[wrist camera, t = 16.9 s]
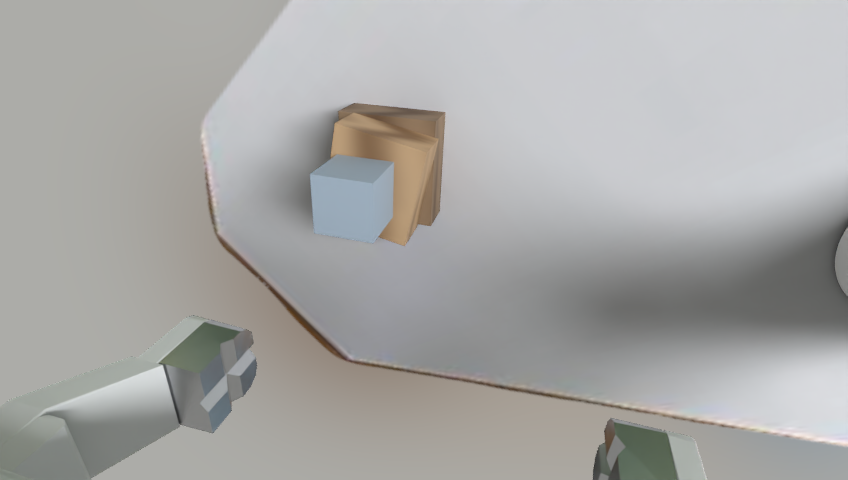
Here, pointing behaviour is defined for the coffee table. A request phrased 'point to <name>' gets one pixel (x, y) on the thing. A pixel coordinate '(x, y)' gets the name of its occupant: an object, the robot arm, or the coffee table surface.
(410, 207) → the teak block
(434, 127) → the walnut block
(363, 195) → the slate cube
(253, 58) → the coffee table surface
